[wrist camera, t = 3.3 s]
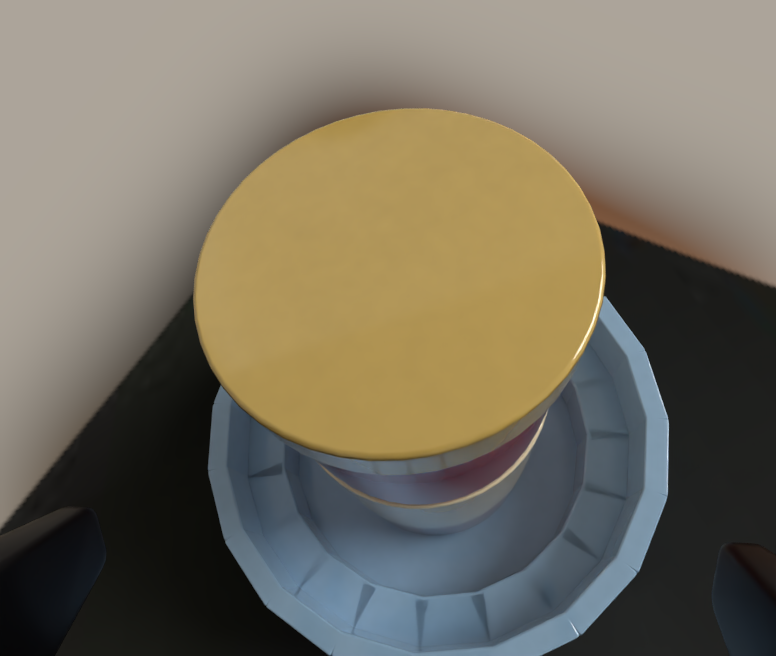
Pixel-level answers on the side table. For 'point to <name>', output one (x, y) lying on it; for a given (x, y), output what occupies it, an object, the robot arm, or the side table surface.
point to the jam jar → (404, 306)
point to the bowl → (463, 549)
